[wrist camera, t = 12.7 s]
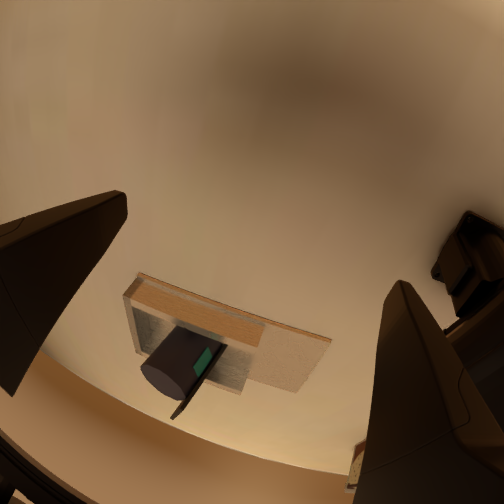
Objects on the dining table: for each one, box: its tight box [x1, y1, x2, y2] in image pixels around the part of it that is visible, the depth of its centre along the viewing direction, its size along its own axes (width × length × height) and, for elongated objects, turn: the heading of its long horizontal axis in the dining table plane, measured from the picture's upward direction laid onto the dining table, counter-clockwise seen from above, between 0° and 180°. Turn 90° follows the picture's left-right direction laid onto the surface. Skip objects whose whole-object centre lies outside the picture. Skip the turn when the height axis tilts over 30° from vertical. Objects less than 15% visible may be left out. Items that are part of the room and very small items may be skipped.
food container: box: [345, 439, 366, 493], centre depth 39 cm, size 12×6×10 cm, turn 171°
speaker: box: [141, 325, 228, 420], centre depth 31 cm, size 8×6×10 cm
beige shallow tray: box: [123, 273, 331, 395], centre depth 34 cm, size 22×13×4 cm, turn 80°
